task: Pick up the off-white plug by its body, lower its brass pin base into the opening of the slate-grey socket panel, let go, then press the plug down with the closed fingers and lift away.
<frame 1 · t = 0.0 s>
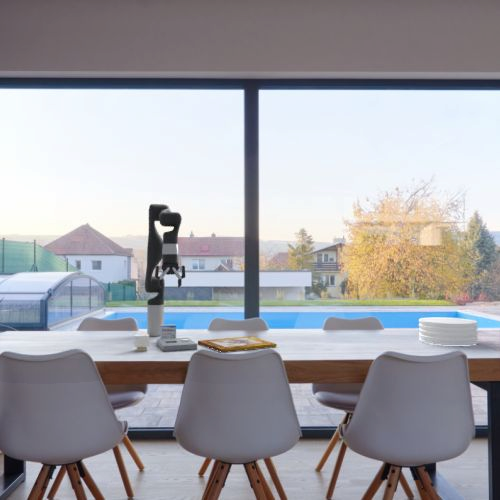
hand: (170, 287, 224), 29 cm above the table, tool pointing down, fingers open, 8 cm apart
plate stack: (447, 342, 242), on the table
plug: (141, 350, 220), on the table
picture frame: (236, 346, 233), on the table
medicine box: (168, 341, 244), on the table
socket panel: (176, 346, 228), on the table
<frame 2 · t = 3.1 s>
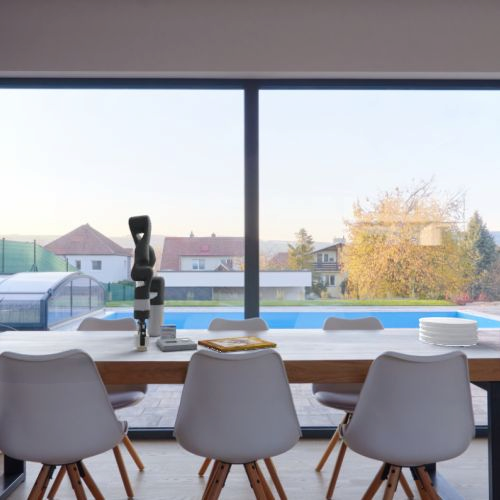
hand: (141, 344, 220), 3 cm above the table, tool pointing down, fingers closed on plug, 5 cm apart
plug: (141, 350, 220), on the table, touching gripper
everything else where it was.
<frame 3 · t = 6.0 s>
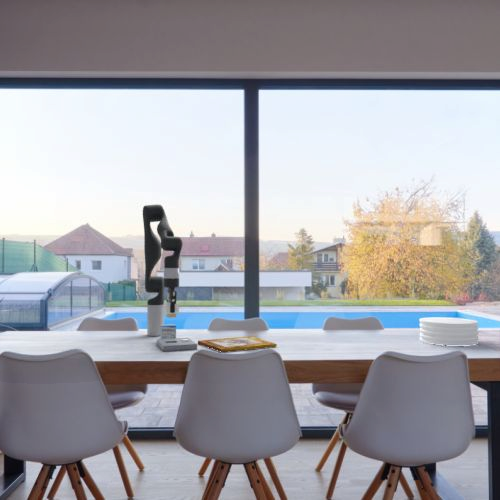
hand: (171, 311, 228), 17 cm above the table, tool pointing down, fingers closed on plug, 5 cm apart
plug: (171, 317, 228), point 15 cm above the table, touching gripper
everything else where it was.
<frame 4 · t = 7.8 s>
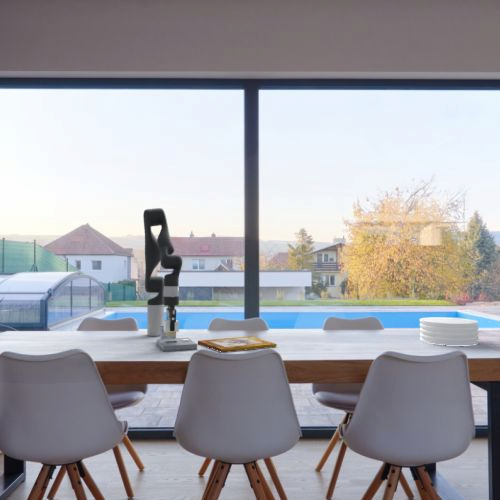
hand: (171, 330, 228), 8 cm above the table, tool pointing down, fingers closed on plug, 5 cm apart
plug: (171, 335, 228), point 6 cm above the table, touching gripper
everything else where it was.
when the fingers open (4 cm above the table, at t = 9.4 s): plug stays where it is, resting on socket panel.
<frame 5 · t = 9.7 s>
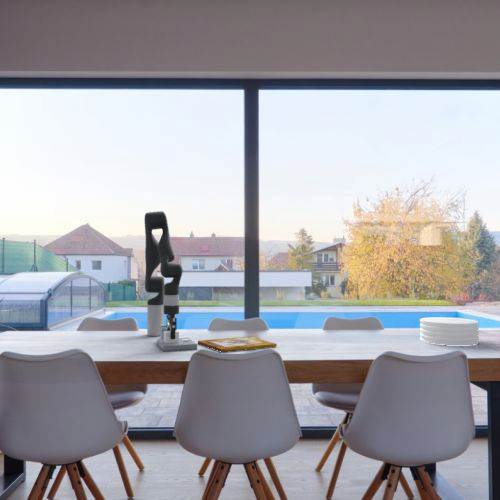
hand: (171, 337, 228), 5 cm above the table, tool pointing down, fingers open, 8 cm apart
plug: (171, 346, 228), resting on socket panel
everything else where it was.
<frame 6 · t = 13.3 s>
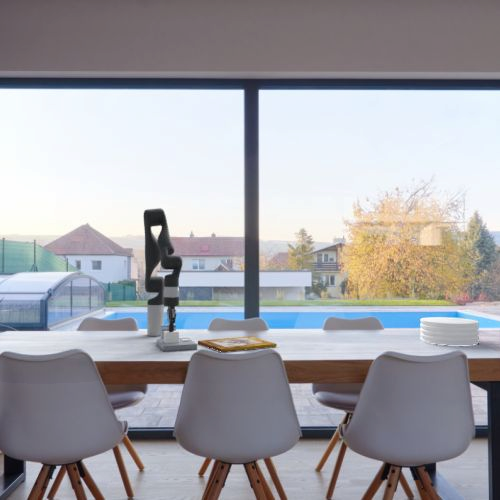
hand: (171, 331, 228), 8 cm above the table, tool pointing down, fingers closed
plug: (171, 346, 228), resting on socket panel, touching gripper
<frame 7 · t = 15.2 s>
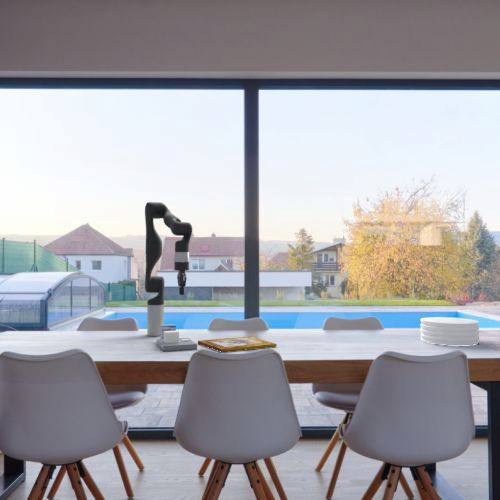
hand: (181, 294, 239), 25 cm above the table, tool pointing down, fingers closed
plug: (171, 346, 228), resting on socket panel
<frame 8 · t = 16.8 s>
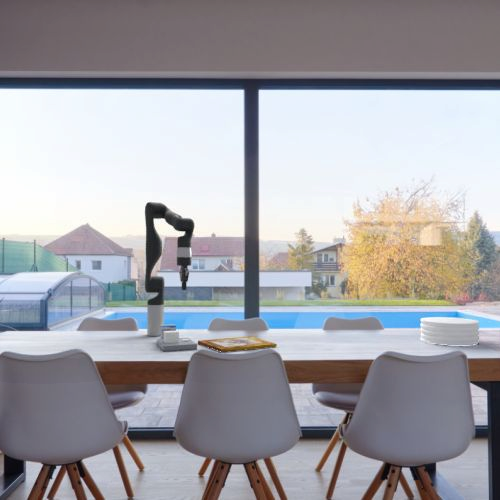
hand: (184, 290, 242), 27 cm above the table, tool pointing down, fingers closed
at the end: plug 0.1 cm from the target spot on the socket panel, point 0.5 cm above the socket panel's base; plug tilted 0°; the gripper is holding nothing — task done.
